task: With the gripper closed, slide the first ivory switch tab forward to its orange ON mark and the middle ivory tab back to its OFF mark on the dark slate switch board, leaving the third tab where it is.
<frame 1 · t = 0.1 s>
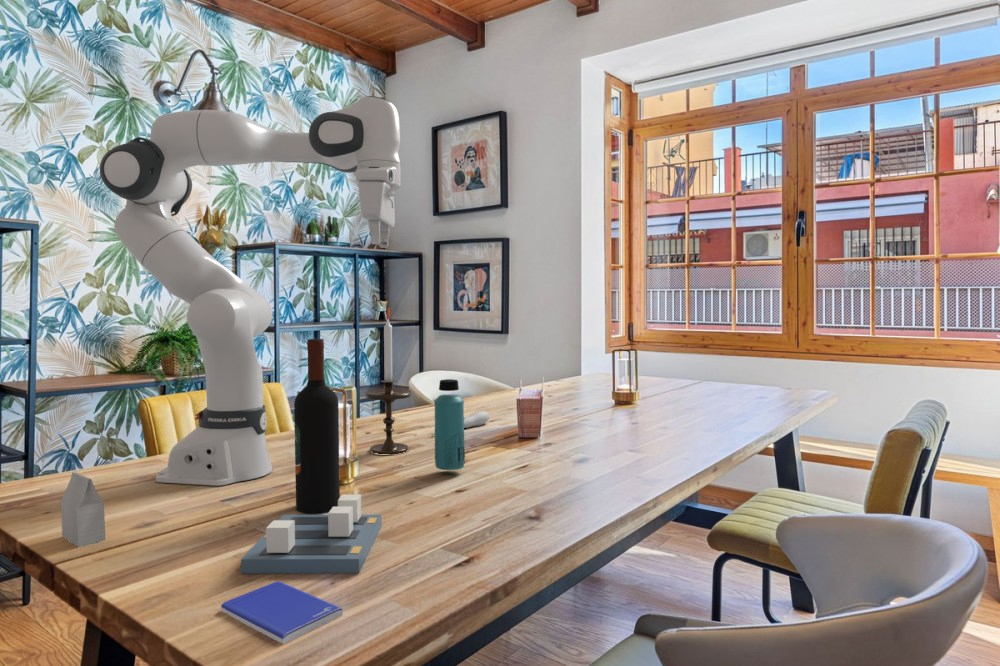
hand: (379, 246, 136), 48 cm above the table, tool pointing down, fingers open, 8 cm apart
wine bottle: (318, 508, 117), on the table
beverage bottle: (449, 474, 139), on the table
tab a: (280, 536, 92), point 4 cm above the table, slide at -3.5 cm
screwdriver: (460, 431, 184), on the table
switch board: (317, 547, 98), on the table
tab b: (340, 521, 98), point 4 cm above the table, slide at 3.5 cm
grey gabled box: (83, 540, 102), on the table
hard drive: (281, 619, 78), on the table
tab c: (349, 508, 104), point 4 cm above the table, slide at 3.5 cm
candlestick: (389, 451, 159), on the table
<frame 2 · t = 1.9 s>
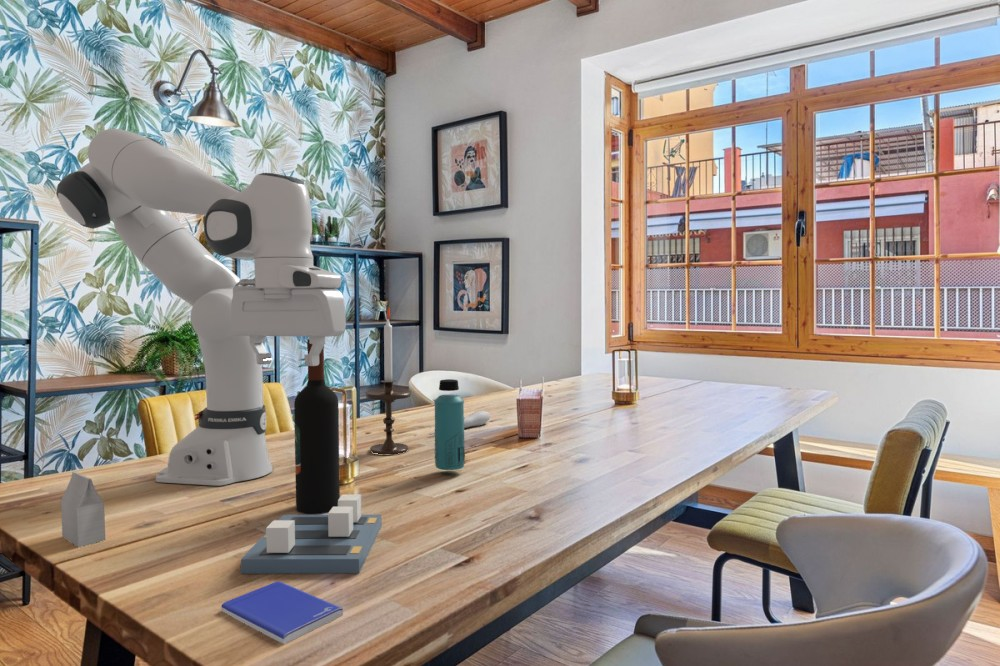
hand: (287, 364, 104), 27 cm above the table, tool pointing down, fingers open, 8 cm apart
nothing on the table moved.
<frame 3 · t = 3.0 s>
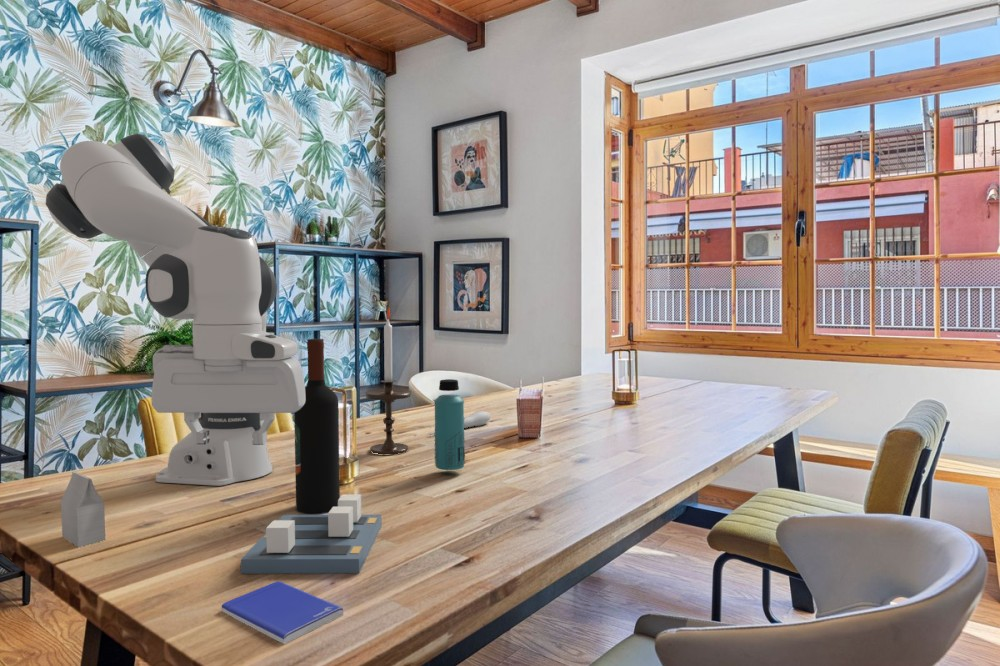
hand: (230, 444, 91), 17 cm above the table, tool pointing down, fingers open, 7 cm apart
nothing on the table moved.
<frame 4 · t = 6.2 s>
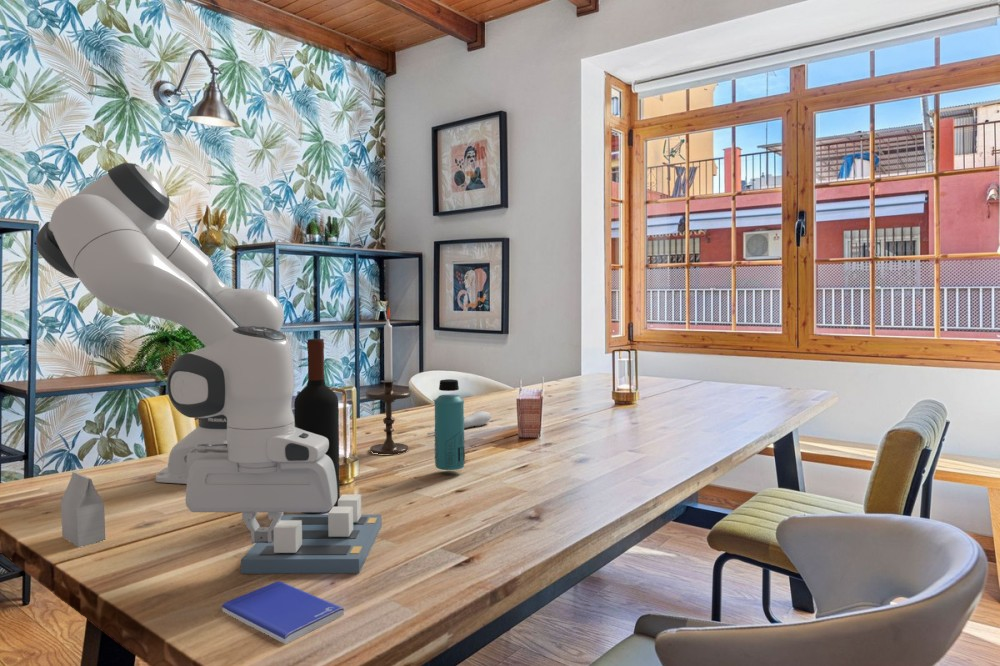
hand: (263, 541, 92), 3 cm above the table, tool pointing down, fingers closed
tab a: (288, 536, 92), point 4 cm above the table, slide at -2.5 cm, touching gripper
everything else where it was.
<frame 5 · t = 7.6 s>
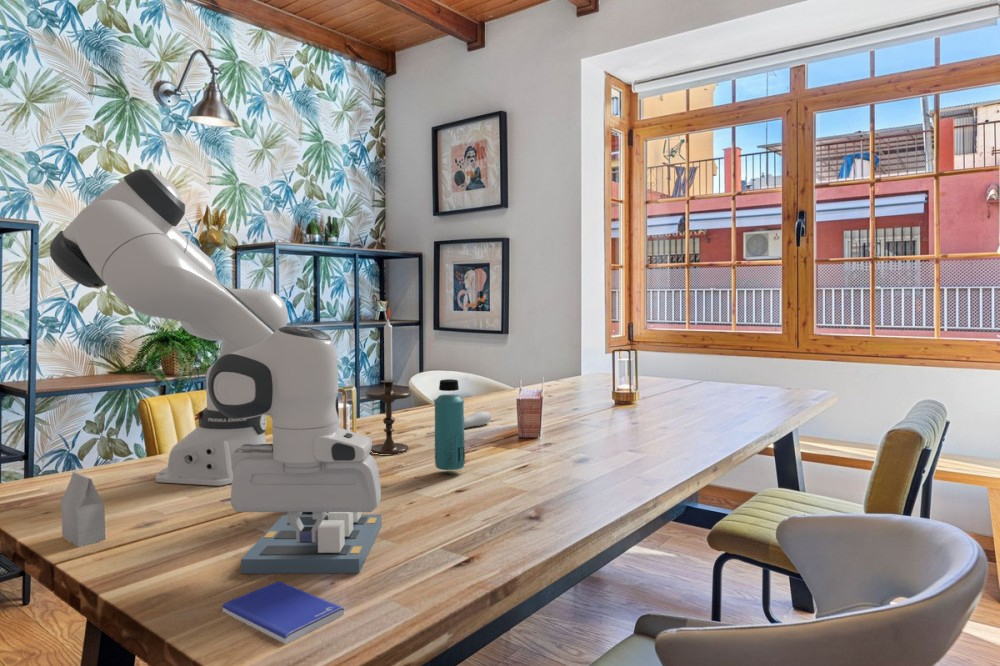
hand: (307, 541, 92), 3 cm above the table, tool pointing down, fingers closed
tab a: (331, 536, 92), point 4 cm above the table, slide at 3.6 cm, touching gripper
everything else where it was.
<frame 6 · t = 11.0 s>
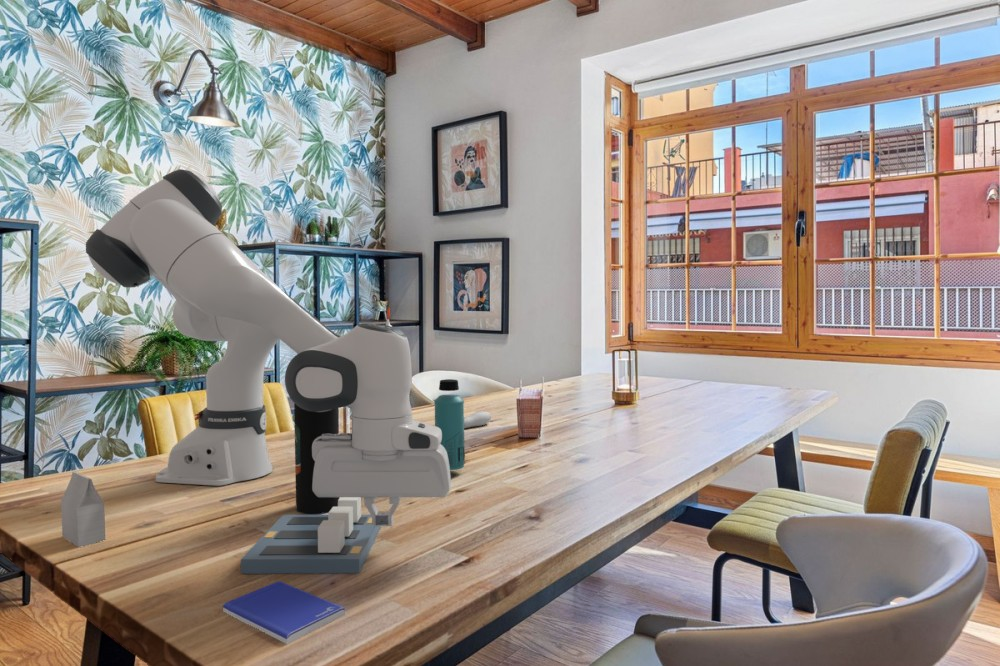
hand: (382, 525, 98), 4 cm above the table, tool pointing down, fingers closed
tab a: (331, 536, 92), point 4 cm above the table, slide at 3.6 cm
everything else where it was.
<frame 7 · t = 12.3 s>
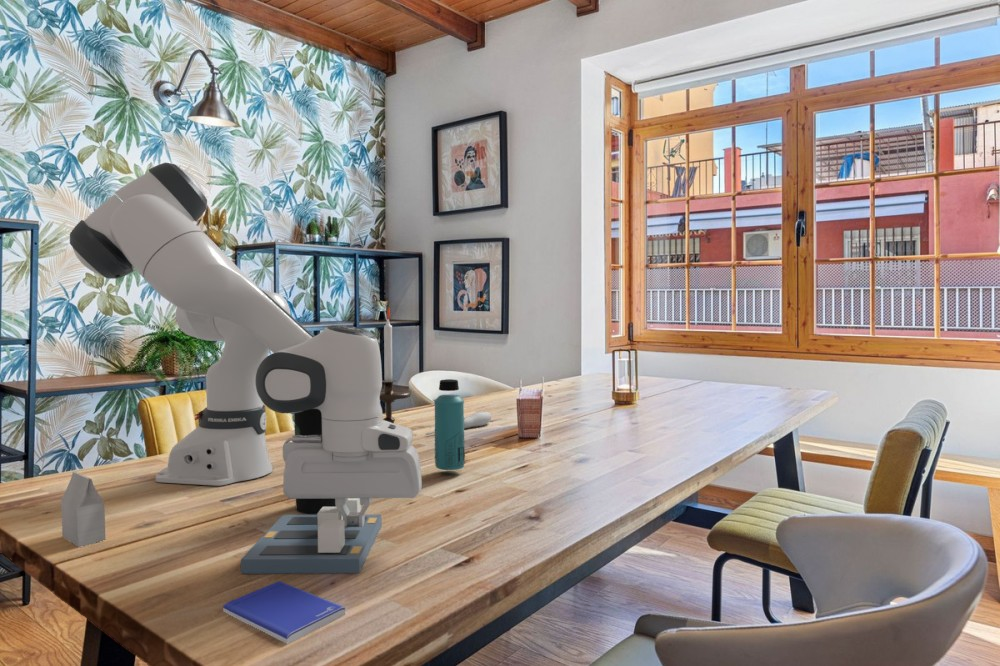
hand: (354, 525, 98), 3 cm above the table, tool pointing down, fingers closed
tab b: (330, 521, 98), point 4 cm above the table, slide at 1.9 cm, touching gripper
everything else where it was.
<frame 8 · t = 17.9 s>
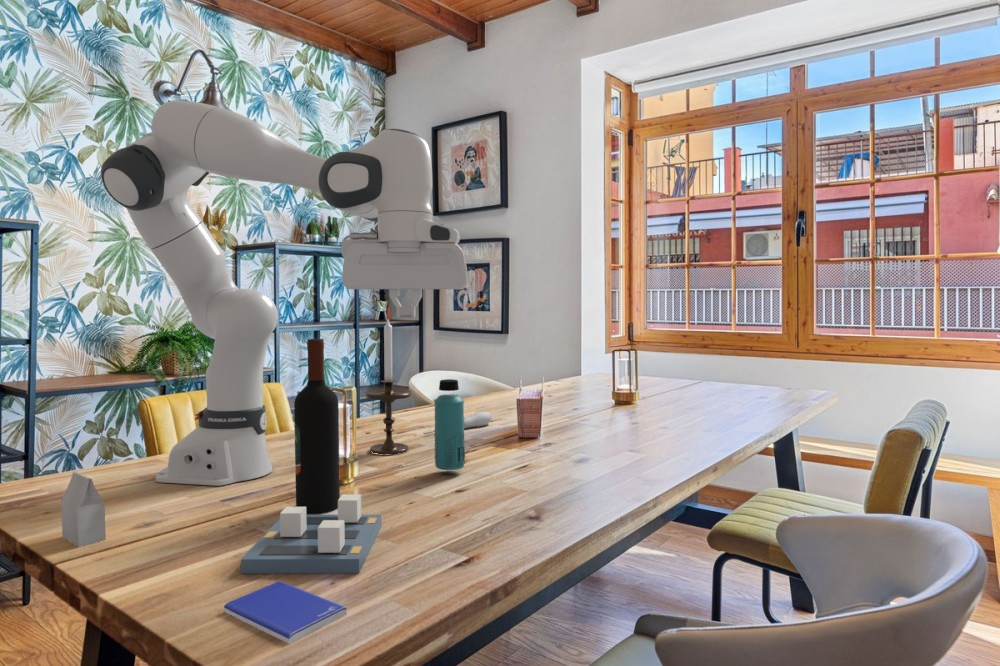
hand: (406, 317, 107), 34 cm above the table, tool pointing down, fingers closed
tab b: (293, 521, 98), point 4 cm above the table, slide at -3.6 cm
at the end: tab a slide at 3.6 cm; tab b slide at -3.6 cm; tab c slide at 3.5 cm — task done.
